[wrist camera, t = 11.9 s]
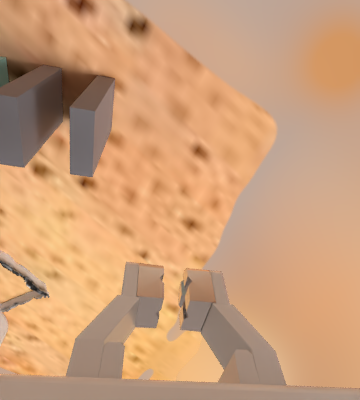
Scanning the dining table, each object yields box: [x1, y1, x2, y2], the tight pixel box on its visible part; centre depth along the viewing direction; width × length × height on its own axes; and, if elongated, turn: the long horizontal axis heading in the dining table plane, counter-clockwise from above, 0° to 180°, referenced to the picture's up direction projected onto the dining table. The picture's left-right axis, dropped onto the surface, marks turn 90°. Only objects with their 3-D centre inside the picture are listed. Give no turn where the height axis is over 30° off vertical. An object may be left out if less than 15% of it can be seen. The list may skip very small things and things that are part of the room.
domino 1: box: [0, 65, 63, 167], centre depth 24 cm, size 2×5×10 cm, turn 168°
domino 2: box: [70, 75, 115, 177], centre depth 24 cm, size 2×5×10 cm, turn 169°
